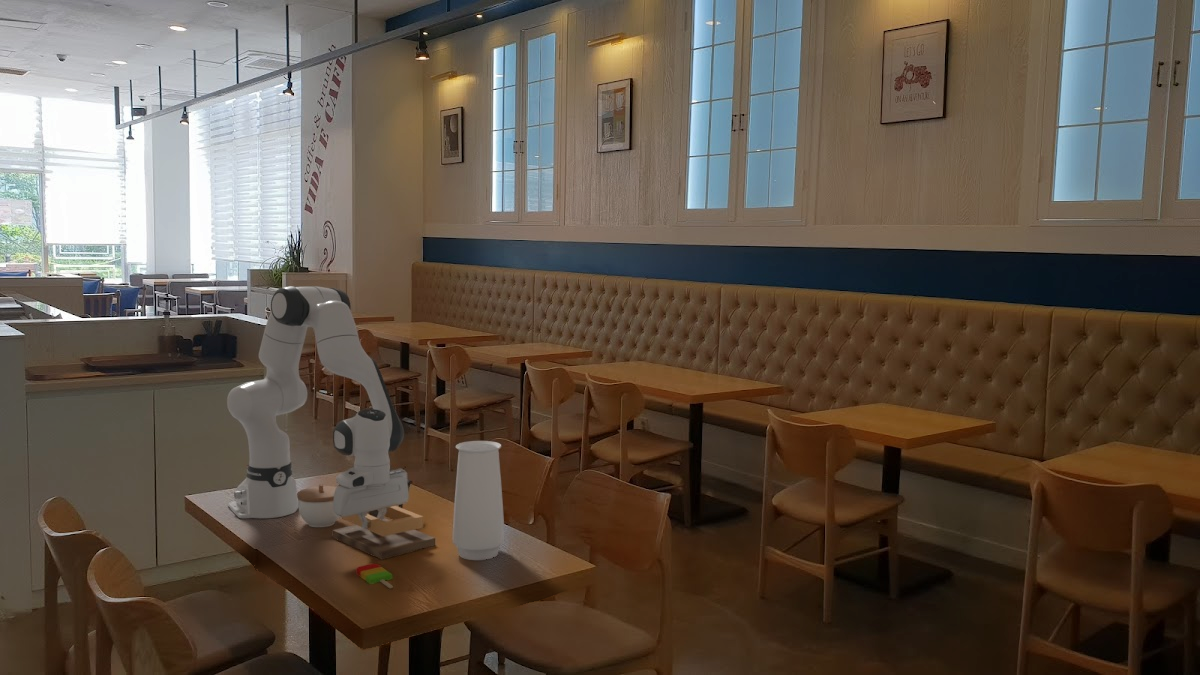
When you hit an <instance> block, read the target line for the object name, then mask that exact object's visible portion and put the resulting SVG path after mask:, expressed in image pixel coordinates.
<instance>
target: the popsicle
mask: <svg viewBox="0 0 1200 675" xmlns="http://www.w3.org/2000/svg"><path fill="white" fill-rule="evenodd" d="M356 575H357V576H359V577H360V578H361V579H363V580H364V581H365V582H366V583H368V584H369V583H370V584H369V585H372V583H373V584H377V582H378V583H381V584H383V585H384V586H386V587H387V588H388V589H393V588H394V586H393V585H392V584H391V583H389V582H388V581H390V580H391V579H392V580H393V574H392V573H391V572H390V571H388V570H387V569H385V568H384V567H383V566H381V565H380V564H378V563H370V564H365V565H361V566H358V567H357V568H356ZM385 580H387V581H385ZM392 580H391V581H392Z"/></svg>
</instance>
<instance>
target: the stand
mask: <svg viewBox="0 0 1200 675" xmlns="http://www.w3.org/2000/svg"><path fill="white" fill-rule="evenodd" d="M369 515H371V516H374V517H376V518H377V515H378V510H373V511H369ZM390 520H391V519H390V518H389V519H388V518H387V517H383V521H390ZM331 533H332V538H333V539H334V540H337V539H338V540H337V541H339V540H340V541H339V542H341V543H344V544H347V546H348V545H349V546H350V547H353V548H355V549H358V550H359V549H360V551H362V552H364V553H366V552H367V554H368V553H369V554H368V555H371V554H372V555H371V556H373V555H374V556H373V557H375V556H376V557H375V558H377V557H378V559H379V558H380V560H382V559H383V560H386V559H385V558H387V559H390V558H394V557H398V556H401V555H404V553H405V554H407V553H408V552H409V553H411V551H412V552H415V550H416V551H419V550H418V549H420V550H423V549H422V548H424V549H427V548H430V546H431V547H434V545H435V546H436V537H434V536H432V535H429V534H427V533H424V532H422V531H419V530H418V529H415V530H410V531H406V532H401V533H396V534H392V535H387V536H381V535H378V534H376V533H374V532H372V531H369V530H367V529H364V528H363V527H360V526H358V525H356V524H352V525H349V526H344V527H339V528H336V529H332V530H331ZM400 554H401V555H400ZM397 555H398V556H397ZM393 556H394V557H393ZM389 557H390V558H389Z"/></svg>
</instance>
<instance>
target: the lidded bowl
mask: <svg viewBox="0 0 1200 675" xmlns="http://www.w3.org/2000/svg"><path fill="white" fill-rule="evenodd" d="M336 487H337V486H336V485H335V486H333V485H324V484H318V485H317V486H311V487H306V488H304V489H301V490H299V491H297V498H298V507H299V508H298V511H299V515H300V516H301V518H302V520H303V521H304V522H305V523H306V524H307V525H308V527H311V528H327V527H331V526H333V525H335V524H336V522H337V520H339V519H340V517H341V516H338V515H337V514H336V513H335V512H334V509H333V503H334V492H335V489H336Z"/></svg>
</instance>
